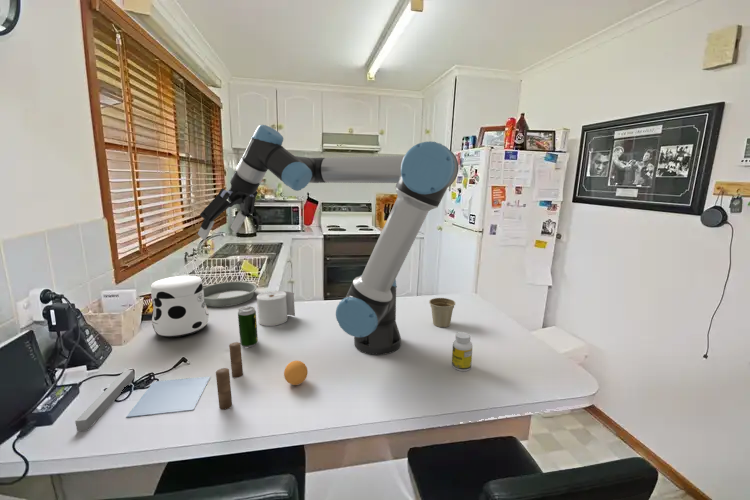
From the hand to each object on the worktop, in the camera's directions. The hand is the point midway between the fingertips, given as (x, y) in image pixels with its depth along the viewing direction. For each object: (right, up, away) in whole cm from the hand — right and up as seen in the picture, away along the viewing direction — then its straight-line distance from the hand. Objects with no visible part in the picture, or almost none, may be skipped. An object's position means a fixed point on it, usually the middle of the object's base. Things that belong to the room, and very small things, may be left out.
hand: (218, 233), depth 107 cm
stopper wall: (-15, -42, -24) cm, 51 cm away
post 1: (+14, -42, -26) cm, 51 cm away
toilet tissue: (+10, -32, +24) cm, 41 cm away
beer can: (+8, -36, +5) cm, 37 cm away
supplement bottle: (+73, -39, -9) cm, 83 cm away
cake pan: (-17, -27, +48) cm, 58 cm away
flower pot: (+73, -33, +20) cm, 83 cm away
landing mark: (-1, -41, -22) cm, 47 cm away
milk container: (-19, -34, +15) cm, 42 cm away
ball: (+28, -37, -17) cm, 50 cm away
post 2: (+11, -39, -13) cm, 43 cm away
